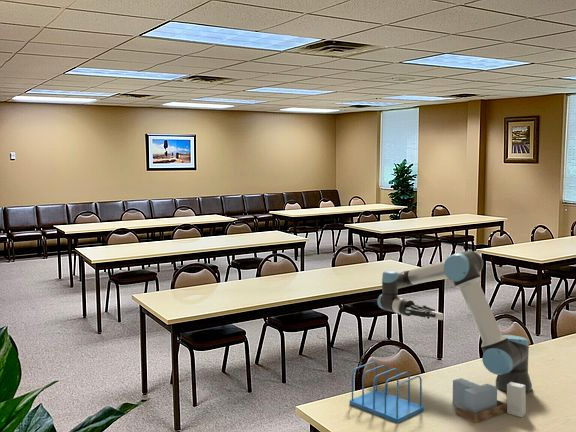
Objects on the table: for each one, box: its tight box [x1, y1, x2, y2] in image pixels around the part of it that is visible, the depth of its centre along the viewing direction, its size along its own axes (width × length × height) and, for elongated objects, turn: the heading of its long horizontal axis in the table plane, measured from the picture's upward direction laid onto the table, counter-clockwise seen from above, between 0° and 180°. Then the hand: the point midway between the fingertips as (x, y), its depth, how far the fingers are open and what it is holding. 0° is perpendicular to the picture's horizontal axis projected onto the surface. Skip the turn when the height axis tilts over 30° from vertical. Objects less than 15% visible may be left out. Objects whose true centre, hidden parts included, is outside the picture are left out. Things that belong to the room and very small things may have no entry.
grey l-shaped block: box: [452, 377, 498, 414], centre depth 236 cm, size 13×15×10 cm
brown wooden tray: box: [455, 399, 507, 424], centre depth 232 cm, size 19×10×3 cm, turn 124°
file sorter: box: [349, 361, 425, 424], centre depth 238 cm, size 25×17×15 cm
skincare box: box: [506, 382, 527, 418], centre depth 230 cm, size 6×4×12 cm
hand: (442, 316), depth 258 cm, fingers closed
